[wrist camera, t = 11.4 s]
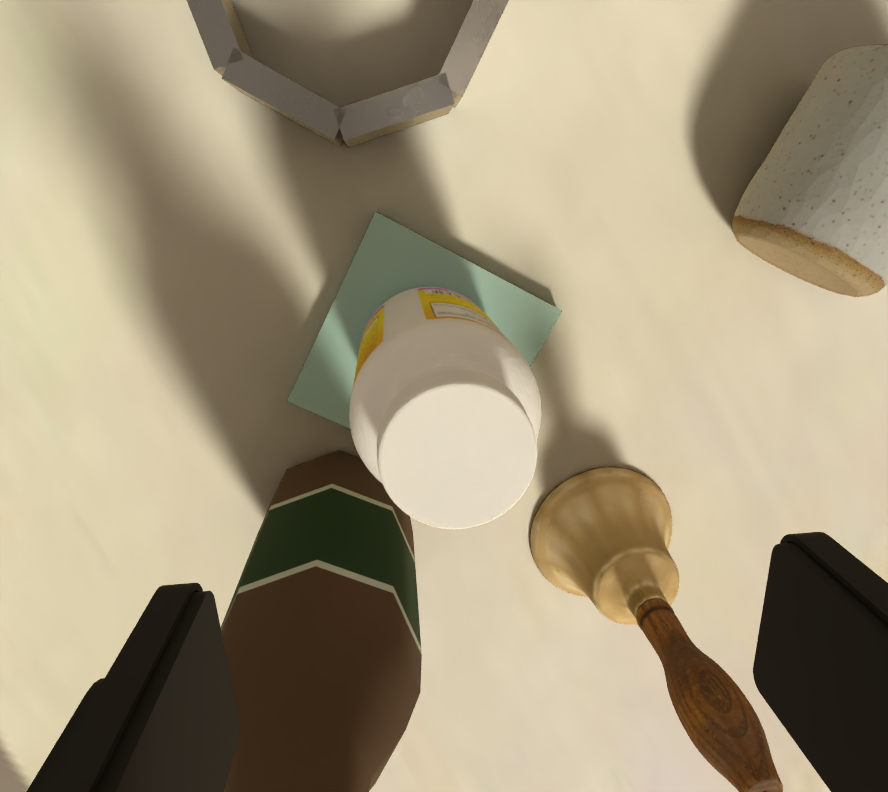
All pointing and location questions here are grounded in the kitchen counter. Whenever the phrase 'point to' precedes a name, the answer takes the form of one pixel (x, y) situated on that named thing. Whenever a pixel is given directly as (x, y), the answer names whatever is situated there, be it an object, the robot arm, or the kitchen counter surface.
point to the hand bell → (648, 607)
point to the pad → (389, 273)
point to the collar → (356, 119)
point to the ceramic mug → (827, 181)
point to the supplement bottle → (444, 409)
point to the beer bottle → (324, 634)
